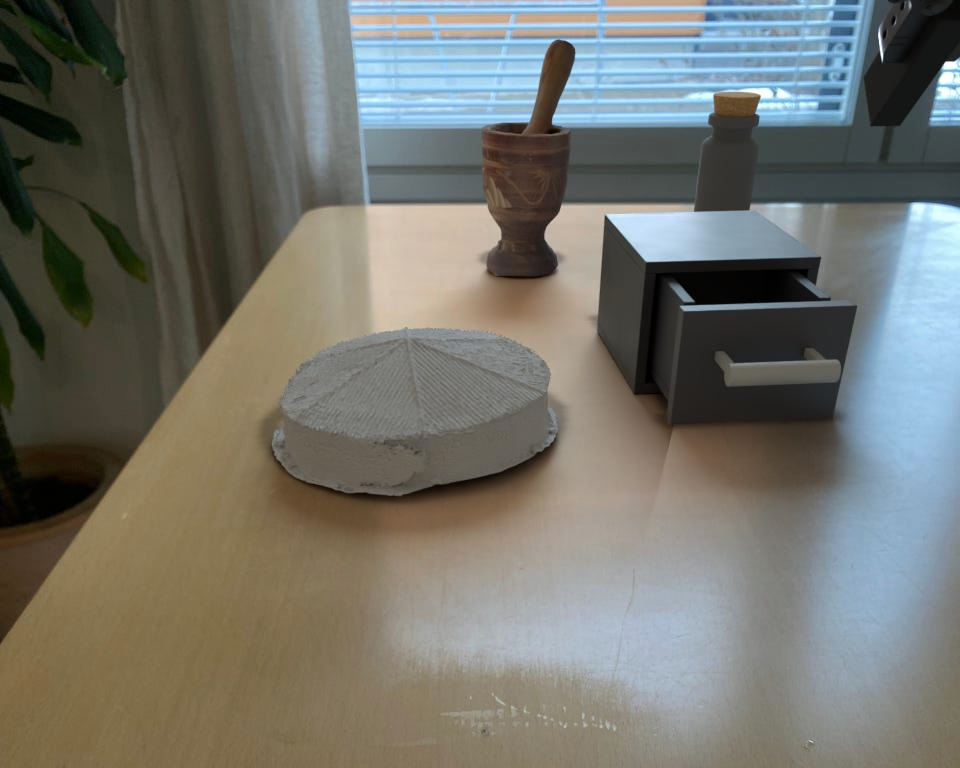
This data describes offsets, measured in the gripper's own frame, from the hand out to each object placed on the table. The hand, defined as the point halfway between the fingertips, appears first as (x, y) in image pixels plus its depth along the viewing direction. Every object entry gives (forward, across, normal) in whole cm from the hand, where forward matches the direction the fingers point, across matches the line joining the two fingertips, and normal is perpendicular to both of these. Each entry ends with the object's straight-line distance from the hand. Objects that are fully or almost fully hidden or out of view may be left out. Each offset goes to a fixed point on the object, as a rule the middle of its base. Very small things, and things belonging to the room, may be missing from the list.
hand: (881, 101), depth 47 cm
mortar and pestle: (+53, -10, +23) cm, 59 cm away
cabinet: (+32, 0, +2) cm, 32 cm away
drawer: (+24, 0, -5) cm, 25 cm away
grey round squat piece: (+23, -23, -7) cm, 34 cm away
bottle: (+56, +12, +26) cm, 62 cm away
